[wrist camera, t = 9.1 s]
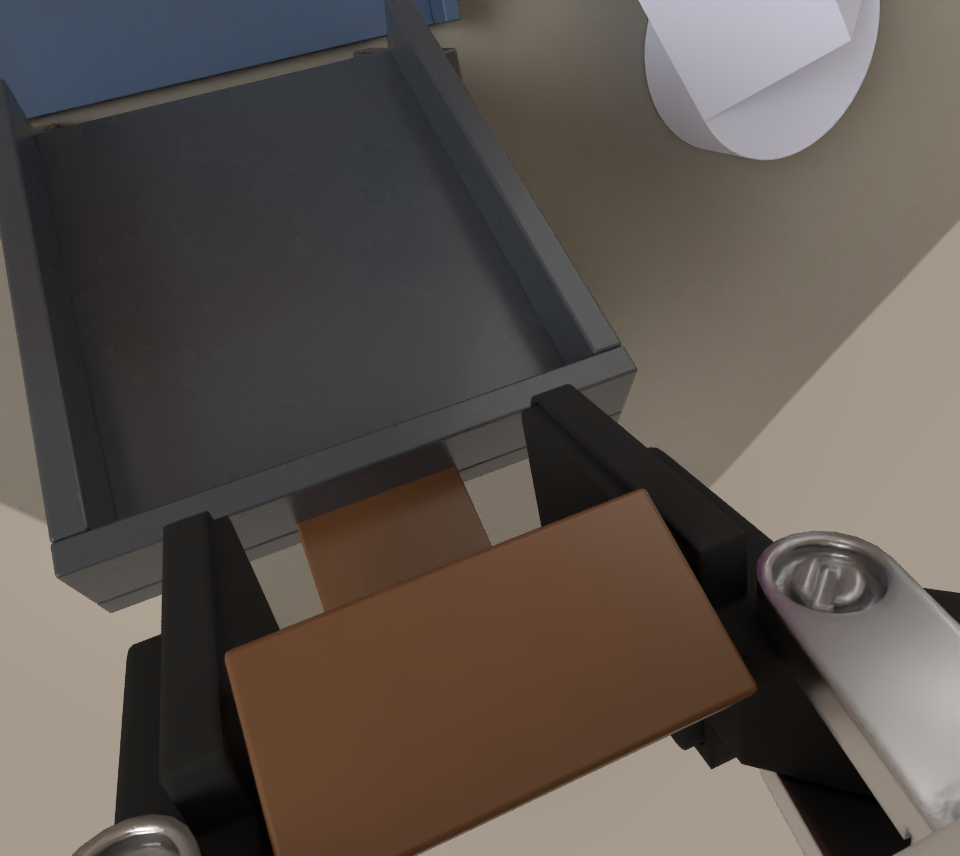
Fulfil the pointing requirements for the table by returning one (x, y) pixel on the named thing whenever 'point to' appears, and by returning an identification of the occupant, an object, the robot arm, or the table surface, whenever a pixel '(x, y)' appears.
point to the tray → (168, 42)
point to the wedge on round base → (756, 69)
